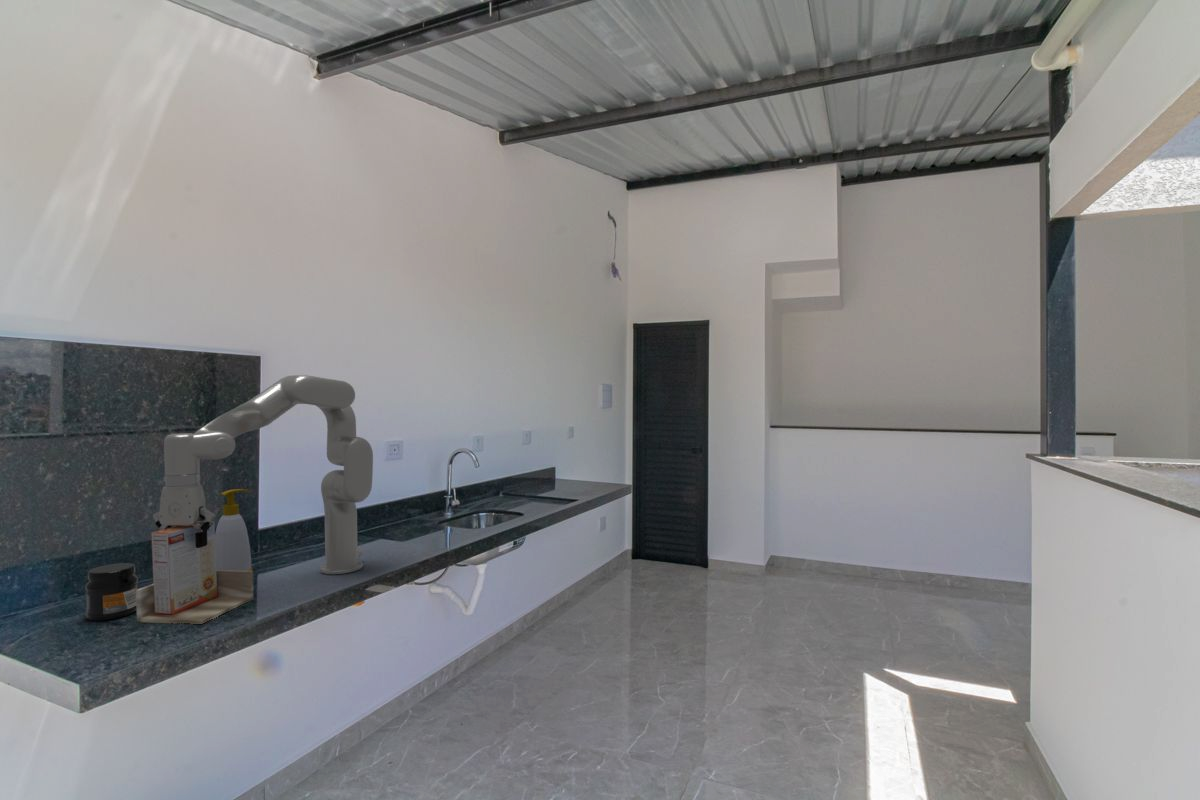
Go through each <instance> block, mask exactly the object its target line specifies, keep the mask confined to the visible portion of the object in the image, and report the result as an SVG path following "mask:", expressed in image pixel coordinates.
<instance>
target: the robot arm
mask: <svg viewBox="0 0 1200 800" xmlns="http://www.w3.org/2000/svg"><path fill="white" fill-rule="evenodd" d="M355 399H356V391H355V389H354V387H353V386H352V384H350V383H348V382H346V381H344V380H339V379H337V380H336V379H331V378H325V377H319V376H313V375H307V374H301V375H300V374H298V375H286V376H284V377H282V378H280V379H279V380H278V381H277V380H276V381H275V382H274V383H273V384H271V385H270V386H269V387H267V388H265V389H264V390H262V391H261V392H260V393H258V394H257V395H255V396H254V397H252V398H251V399H249V400H248V401H246V402H244V403H242V404H240V405H238V406H237V407H235V408H233V409H231V410H229V411H227V412H224V413H223V414H221V415H219V416H217V417H216V418H214V419H213V420H210V421H209V422H208V423H207V424H205V425H203V426H202V427H201V428H199V429H197V430H196V431H195V432H194V433H191V432H190V433H186V432H185V433H182V432H181V433H171V434H168V435H166V436H165V438H164V440H163V448H164V449H163V451H164V475H165V476H163V482H164V484H165V486H163V487H162V489H161V494H160V501H159V511H157V512H155V513H153V514H152V518H153V520H154V522H155V525H156V527H158V531H160V530H164V529H168V528H171V527H176V526H191V525H193V526H194V528H195V529H196V530H197V531H198V532H197V533H196V534H195V540H196V548H200V547H203V546H206V545H207V530H209V529H210V527H211V526H212V524H213V521H214V522H215V518H216V516H217V515H216V514H215V513H214V512H211V511H210V510H209V509H207V507H206V505H207V504H206V498H205V492H204V489H203V486H202V485H201V472H200V471H201V470H200V464H201V462H200V460H221V459H225V458H227V457H229V456H230V455H232V453H234V452H235V449H236V441H235V438H237V437H238V436H241V435H242V434H245V433H248V432H251V431H255V430H259V429H262V428H264V427H266V426H269V425H271V424H272V423H273V422H274V421H276V420H278V419H279V418H280V417H281V416H282V415H284V414H285V413H286V412H288V411H290V410H291V409H292V408H294V407H295V406H297V405H310V406H315V407H318V409H320V411H321V412H322V413H323V414H324V416H325V419H326V425H327V427H326V428H327V433H326V457H327V460H328V461H329V463H331V464H332V465H335V466H340V467H343V469H335V470H331V471H329V472H328V473H326V475H325V474H324V475H325V476H324V477H323V478H322V481H321V485H320V492H321V498H322V501H323V502H322V503H323V509H324V510H323V511H324V512H323V513H324V545H325V546H324V548H325V550H324V552H325V553H324V554H325V555H324V556H325V558H324V559H325V564H323V565H321V566H320V571H319V572H320V573H322V574H325V575H343V574H349V573H353V572H357V571H360V570H362V568H363V567H364V562H362V560H359V557H362V556H363V555H364V551H363V550H362V549H358V511H357V505H356V504H357V503H361V502H363V501H365V500H367V498H368V497H369V496H370V494H371V491H372V487H373V472H374V468H373V467H374V465H373V464H374V454H373V448H372V446H371V444H370V442H369V441H368V440H367V439H365V438H364V437H360V436H357V419H356V414H355V411H354V410H353V408H352V406H351V405H352V404H353V403H354V402H355ZM205 521H206V522H205ZM199 524H200V525H201V526H200V525H199Z"/></svg>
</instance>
